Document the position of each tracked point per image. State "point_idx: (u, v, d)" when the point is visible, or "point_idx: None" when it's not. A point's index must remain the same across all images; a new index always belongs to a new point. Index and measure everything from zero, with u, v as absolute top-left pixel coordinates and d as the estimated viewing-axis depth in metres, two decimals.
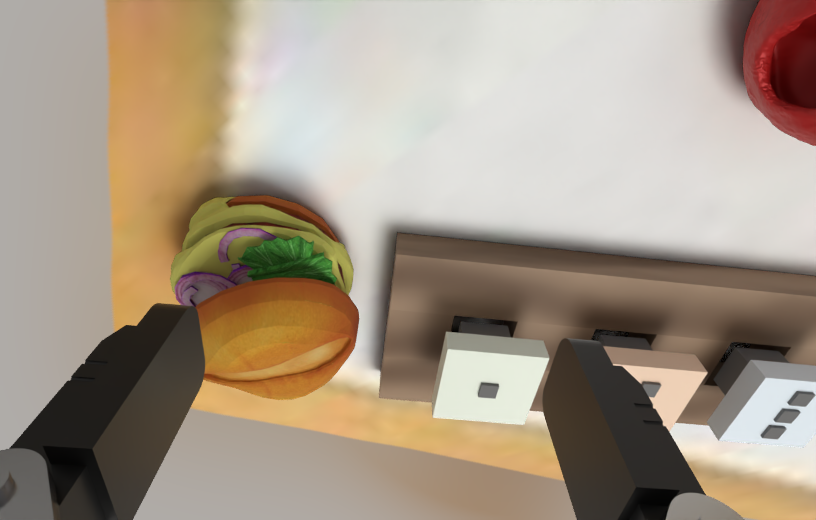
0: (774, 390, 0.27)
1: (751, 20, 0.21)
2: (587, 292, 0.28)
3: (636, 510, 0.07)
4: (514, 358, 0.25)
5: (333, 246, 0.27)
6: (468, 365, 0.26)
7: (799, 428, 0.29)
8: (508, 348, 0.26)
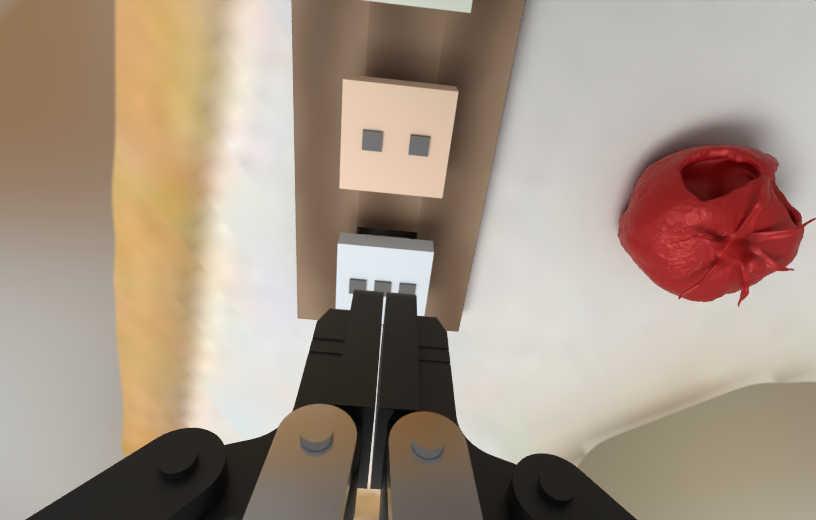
0: (416, 265, 0.28)
1: None
2: (487, 69, 0.26)
3: (389, 431, 0.08)
4: None
5: None
6: None
7: None
8: None
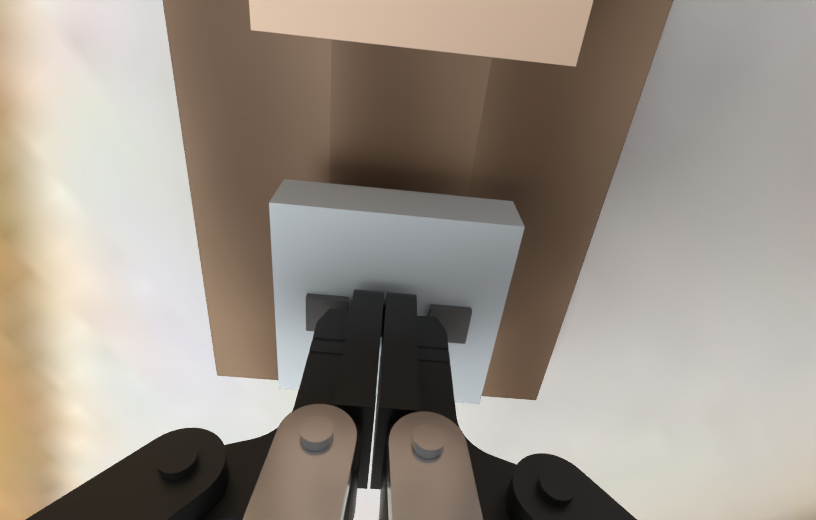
0: (475, 262, 0.11)
1: None
2: None
3: (389, 431, 0.08)
4: None
5: None
6: None
7: None
8: None
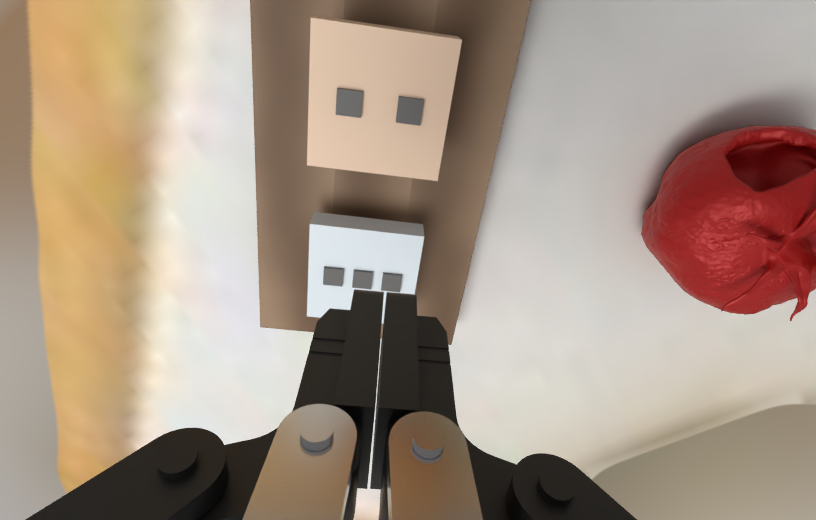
0: (403, 252, 0.23)
1: None
2: (496, 21, 0.21)
3: (389, 432, 0.08)
4: None
5: None
6: None
7: (339, 300, 0.25)
8: None
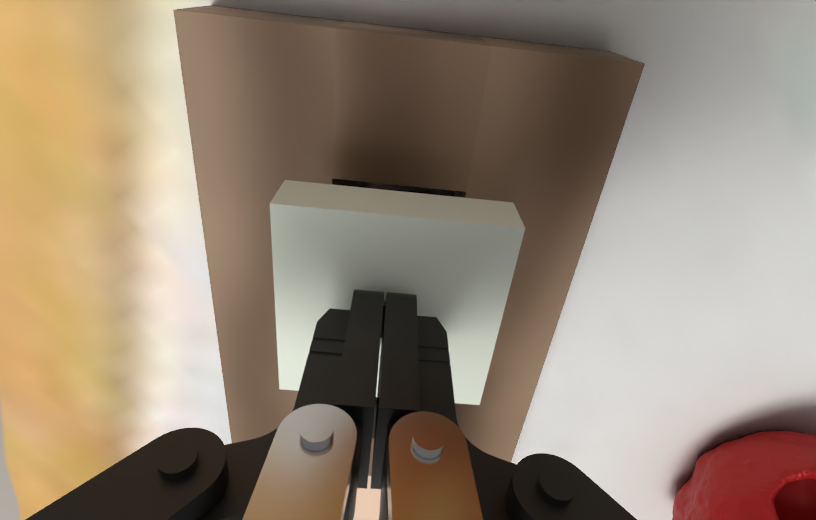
0: None
1: (804, 437, 0.21)
2: (503, 382, 0.18)
3: (389, 431, 0.08)
4: (483, 353, 0.12)
5: None
6: (467, 274, 0.11)
7: None
8: None
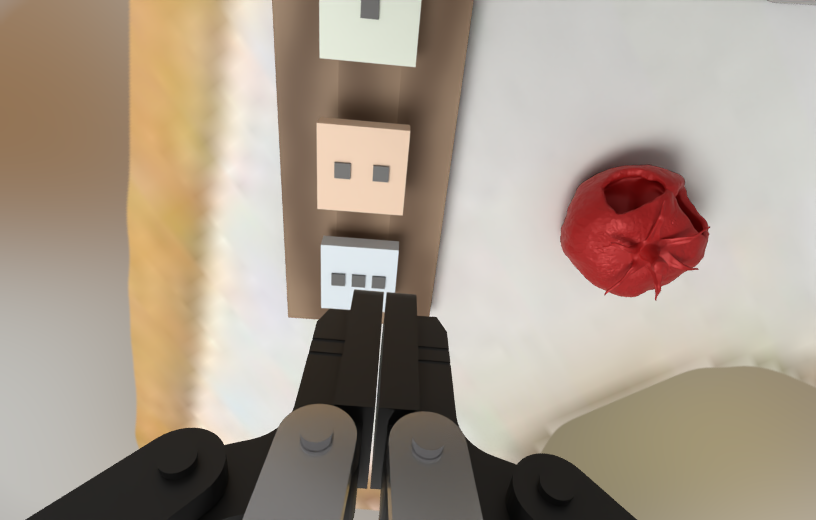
0: (385, 261, 0.34)
1: None
2: (438, 108, 0.31)
3: (389, 432, 0.08)
4: (414, 31, 0.27)
5: None
6: None
7: (343, 295, 0.36)
8: None
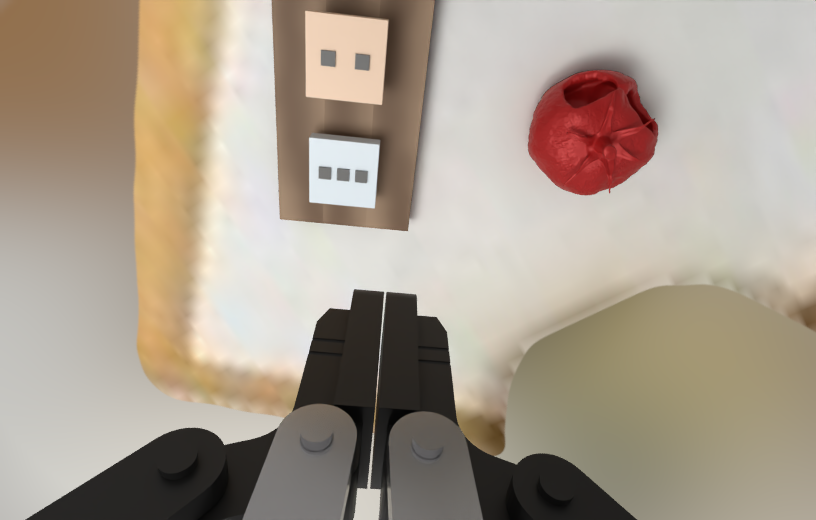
0: (367, 156, 0.38)
1: None
2: (416, 10, 0.35)
3: (389, 430, 0.08)
4: None
5: None
6: None
7: (329, 190, 0.39)
8: None
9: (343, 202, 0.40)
